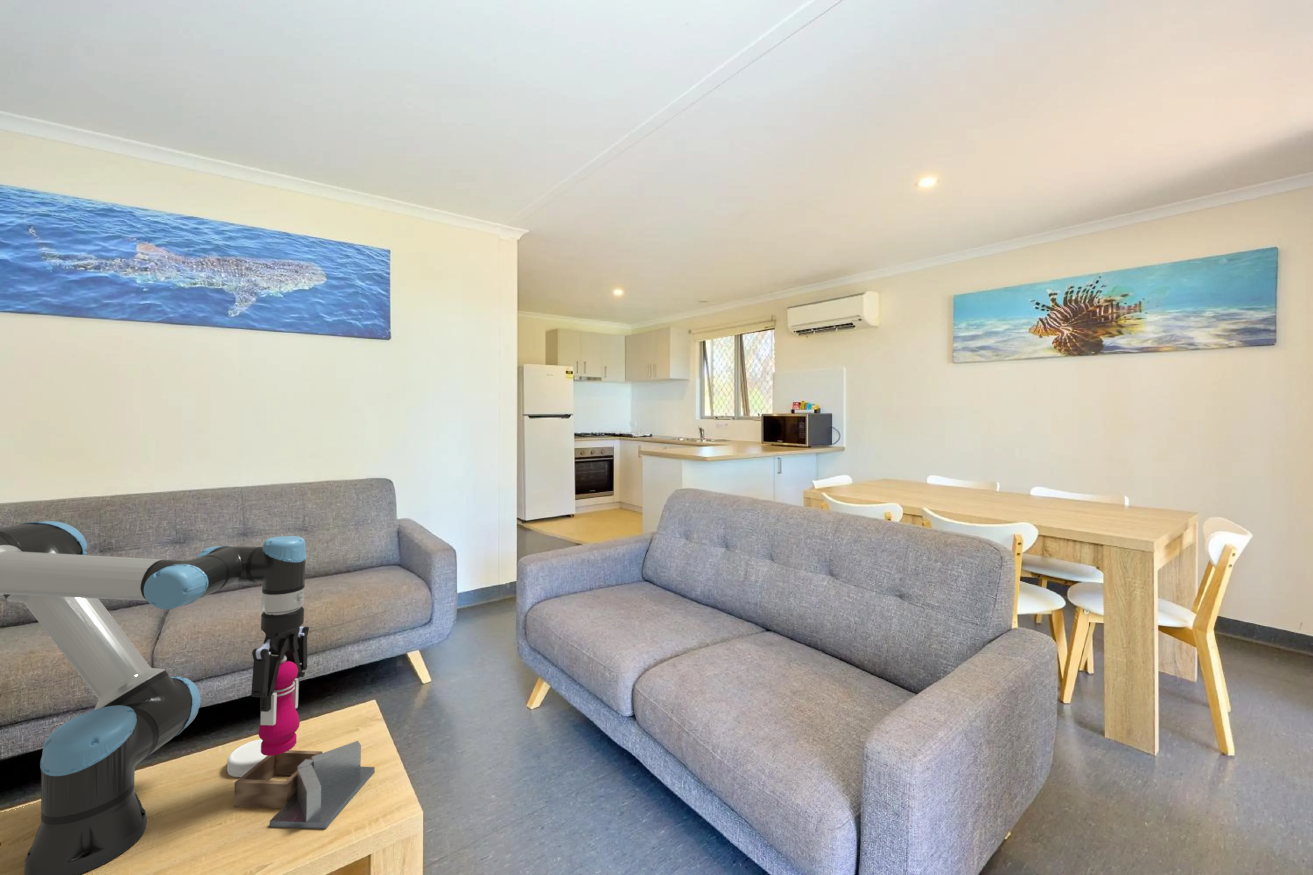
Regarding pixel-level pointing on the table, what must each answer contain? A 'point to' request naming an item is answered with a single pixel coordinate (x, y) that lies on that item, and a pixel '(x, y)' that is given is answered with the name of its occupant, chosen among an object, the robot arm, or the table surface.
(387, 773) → the table surface
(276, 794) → the wooden square frame
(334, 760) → the v block
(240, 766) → the coaster
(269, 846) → the table surface
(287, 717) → the pepper mill
